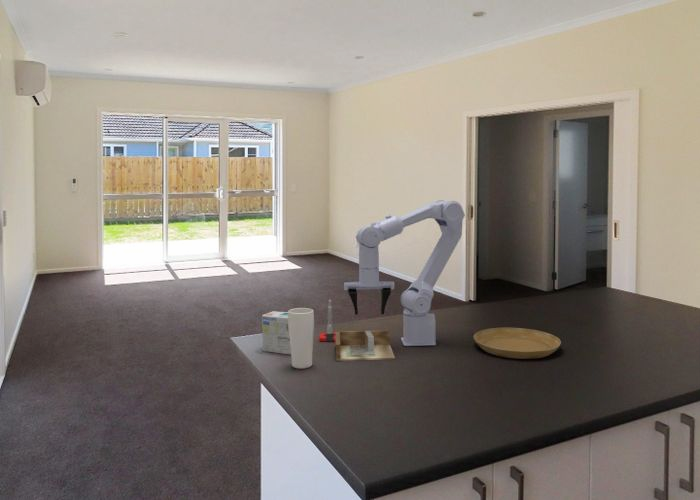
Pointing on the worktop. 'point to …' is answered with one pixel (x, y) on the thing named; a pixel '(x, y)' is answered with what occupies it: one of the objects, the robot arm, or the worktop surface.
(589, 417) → the worktop surface
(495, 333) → the plant saucer
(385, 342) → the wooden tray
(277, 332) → the light bulb box
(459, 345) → the worktop surface
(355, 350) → the bracket
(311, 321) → the drinking glass
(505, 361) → the worktop surface
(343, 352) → the board
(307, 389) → the worktop surface
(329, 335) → the tow hook
